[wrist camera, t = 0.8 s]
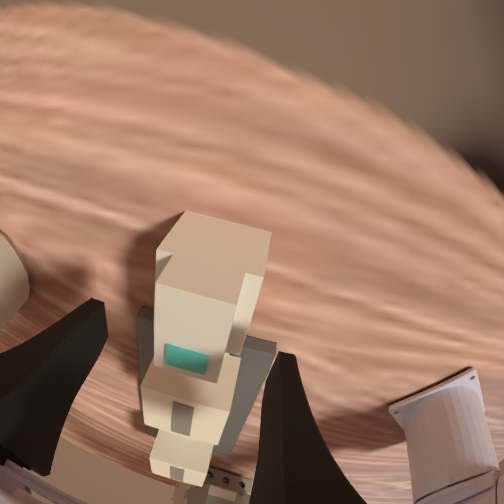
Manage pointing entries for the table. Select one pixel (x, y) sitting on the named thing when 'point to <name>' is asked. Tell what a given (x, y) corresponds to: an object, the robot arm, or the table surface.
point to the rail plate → (244, 381)
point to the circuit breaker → (214, 490)
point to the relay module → (205, 292)
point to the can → (11, 280)
